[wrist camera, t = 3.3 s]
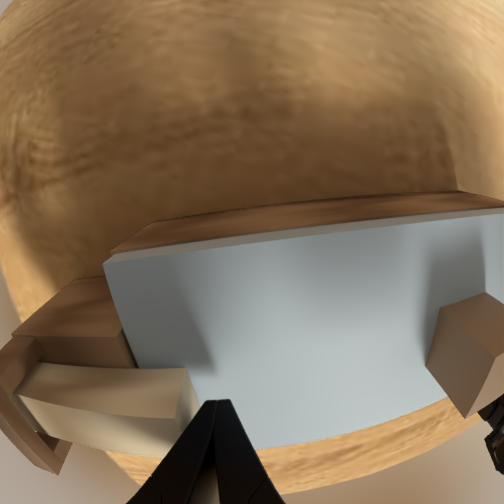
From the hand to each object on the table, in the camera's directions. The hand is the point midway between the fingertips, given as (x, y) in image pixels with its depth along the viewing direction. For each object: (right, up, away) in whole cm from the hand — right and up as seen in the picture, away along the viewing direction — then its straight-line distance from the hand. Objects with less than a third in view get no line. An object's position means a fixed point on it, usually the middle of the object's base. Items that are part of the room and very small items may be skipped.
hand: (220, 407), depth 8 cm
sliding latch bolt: (-5, -1, +1) cm, 6 cm away
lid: (+6, +1, +2) cm, 6 cm away
